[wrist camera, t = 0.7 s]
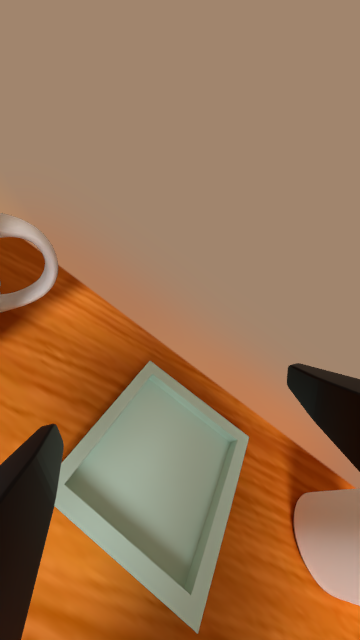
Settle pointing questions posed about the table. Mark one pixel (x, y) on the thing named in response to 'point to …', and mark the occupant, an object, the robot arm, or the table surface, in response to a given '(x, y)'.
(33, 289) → the mug
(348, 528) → the can
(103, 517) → the tray
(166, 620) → the table surface
